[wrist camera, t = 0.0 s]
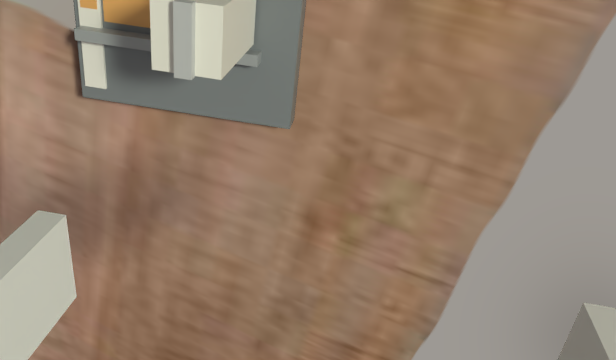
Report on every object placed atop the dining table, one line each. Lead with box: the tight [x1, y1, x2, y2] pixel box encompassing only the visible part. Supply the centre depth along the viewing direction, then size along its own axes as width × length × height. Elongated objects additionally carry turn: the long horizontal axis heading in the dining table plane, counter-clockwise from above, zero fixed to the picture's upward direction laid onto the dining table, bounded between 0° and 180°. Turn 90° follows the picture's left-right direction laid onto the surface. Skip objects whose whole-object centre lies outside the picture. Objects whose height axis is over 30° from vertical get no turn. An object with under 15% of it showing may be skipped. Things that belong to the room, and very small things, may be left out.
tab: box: [150, 0, 256, 80], centre depth 33 cm, size 4×4×9 cm
